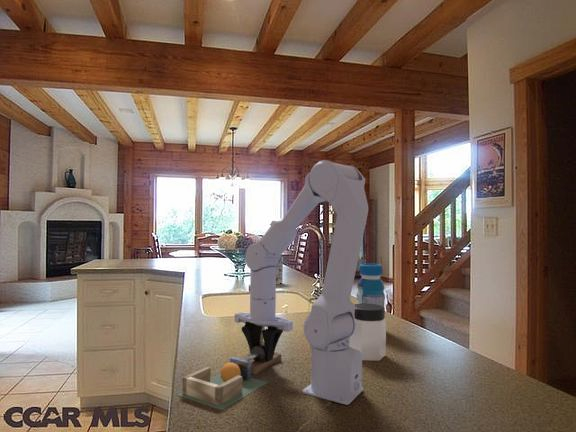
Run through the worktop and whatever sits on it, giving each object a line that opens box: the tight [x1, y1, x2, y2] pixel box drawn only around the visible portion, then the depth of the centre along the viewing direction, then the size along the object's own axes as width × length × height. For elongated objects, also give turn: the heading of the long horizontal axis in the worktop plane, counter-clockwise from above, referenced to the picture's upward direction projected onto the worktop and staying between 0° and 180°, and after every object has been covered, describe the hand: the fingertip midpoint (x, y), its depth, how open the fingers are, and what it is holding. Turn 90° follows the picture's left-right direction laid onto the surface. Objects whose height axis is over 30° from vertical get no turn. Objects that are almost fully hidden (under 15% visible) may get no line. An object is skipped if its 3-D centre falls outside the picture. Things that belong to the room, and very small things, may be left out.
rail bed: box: [251, 351, 282, 375], centre depth 89 cm, size 3×10×2 cm, turn 149°
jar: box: [349, 303, 387, 362], centre depth 97 cm, size 9×8×12 cm
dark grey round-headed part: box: [229, 342, 265, 380], centre depth 86 cm, size 11×5×5 cm, turn 149°
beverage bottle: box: [356, 263, 386, 308], centre depth 120 cm, size 8×8×20 cm
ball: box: [219, 362, 241, 382], centre depth 79 cm, size 4×4×4 cm
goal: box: [181, 366, 242, 405], centre depth 74 cm, size 9×6×3 cm
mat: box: [176, 373, 268, 411], centre depth 76 cm, size 11×14×1 cm
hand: (262, 358), depth 88 cm, fingers closed on dark grey round-headed part, 3 cm apart
